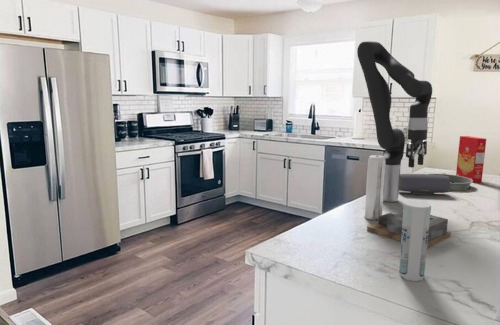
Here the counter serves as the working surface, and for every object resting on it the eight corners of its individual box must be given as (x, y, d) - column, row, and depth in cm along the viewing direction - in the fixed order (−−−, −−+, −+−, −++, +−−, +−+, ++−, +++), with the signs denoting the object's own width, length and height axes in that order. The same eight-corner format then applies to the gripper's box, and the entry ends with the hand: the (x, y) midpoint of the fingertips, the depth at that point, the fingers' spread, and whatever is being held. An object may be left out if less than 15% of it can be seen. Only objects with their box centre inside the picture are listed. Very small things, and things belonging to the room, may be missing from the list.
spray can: (397, 268, 103) (402, 199, 100) (422, 271, 101) (428, 201, 98) (399, 279, 97) (405, 206, 94) (426, 283, 95) (433, 208, 92)
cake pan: (471, 193, 186) (472, 185, 185) (418, 187, 199) (419, 179, 198) (472, 184, 207) (473, 176, 206) (424, 179, 219) (425, 171, 219)
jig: (366, 230, 133) (368, 213, 132) (394, 220, 144) (395, 204, 143) (423, 249, 117) (425, 229, 116) (450, 236, 128) (452, 218, 126)
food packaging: (455, 177, 224) (459, 136, 220) (463, 177, 224) (468, 136, 220) (472, 182, 209) (477, 138, 205) (481, 182, 210) (486, 138, 206)
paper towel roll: (382, 216, 149) (386, 155, 144) (380, 221, 143) (385, 157, 138) (365, 214, 151) (369, 154, 147) (363, 219, 145) (367, 156, 141)
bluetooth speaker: (443, 192, 188) (445, 173, 186) (449, 197, 179) (451, 177, 177) (396, 190, 192) (397, 171, 190) (400, 194, 183) (401, 175, 181)
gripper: (416, 127, 164) (414, 163, 167) (401, 129, 155) (399, 167, 158) (434, 127, 159) (431, 165, 161) (418, 129, 150) (416, 169, 152)
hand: (415, 166), depth 159 cm, fingers open, 8 cm apart
